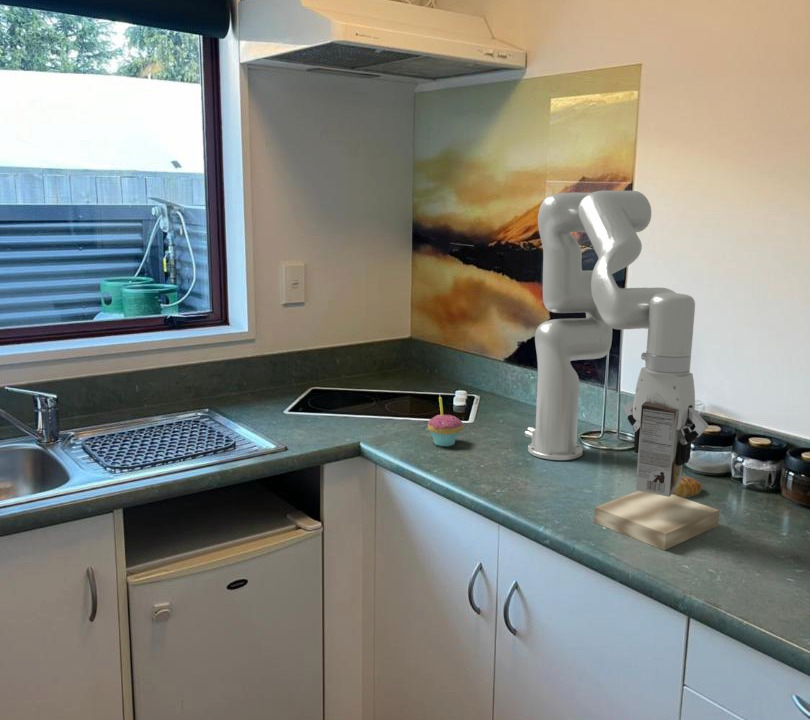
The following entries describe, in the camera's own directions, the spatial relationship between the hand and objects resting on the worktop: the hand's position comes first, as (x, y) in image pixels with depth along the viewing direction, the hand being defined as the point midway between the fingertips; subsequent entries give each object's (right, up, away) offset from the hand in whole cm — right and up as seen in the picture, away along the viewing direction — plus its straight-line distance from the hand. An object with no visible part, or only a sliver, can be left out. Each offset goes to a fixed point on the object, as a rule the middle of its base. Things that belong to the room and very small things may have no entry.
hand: (660, 457), depth 145 cm
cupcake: (-37, -3, +49) cm, 61 cm away
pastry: (+9, -10, +19) cm, 23 cm away
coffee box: (0, -6, +1) cm, 6 cm away
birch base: (0, -13, +3) cm, 13 cm away
